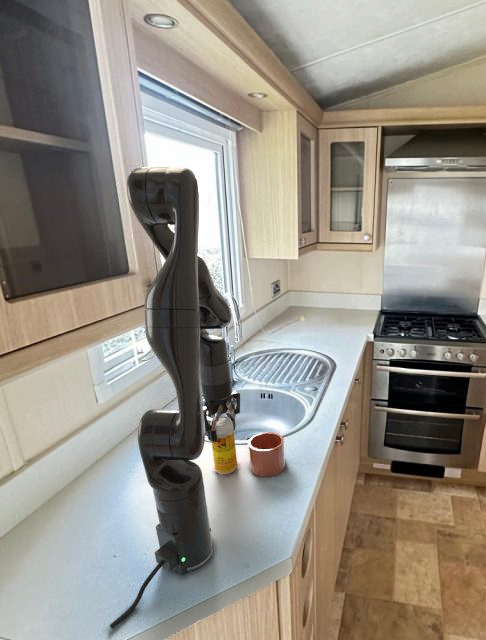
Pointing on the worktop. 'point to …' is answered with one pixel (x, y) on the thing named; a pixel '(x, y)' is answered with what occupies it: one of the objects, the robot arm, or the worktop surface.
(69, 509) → the worktop surface
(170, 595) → the worktop surface
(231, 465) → the yellow labelled bottle
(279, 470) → the holder
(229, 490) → the worktop surface
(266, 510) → the worktop surface
